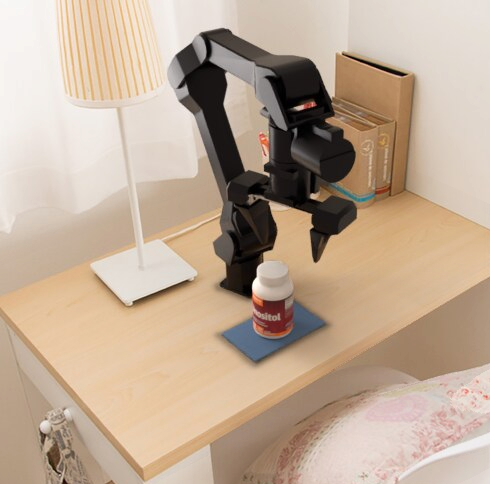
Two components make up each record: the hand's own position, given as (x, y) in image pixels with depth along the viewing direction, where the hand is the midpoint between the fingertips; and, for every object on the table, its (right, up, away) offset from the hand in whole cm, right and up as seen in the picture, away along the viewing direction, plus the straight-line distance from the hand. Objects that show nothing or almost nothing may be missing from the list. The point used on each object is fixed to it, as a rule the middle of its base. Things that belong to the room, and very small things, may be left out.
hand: (290, 252), depth 110 cm
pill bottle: (-2, -12, +6) cm, 13 cm away
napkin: (-2, -12, +6) cm, 13 cm away
